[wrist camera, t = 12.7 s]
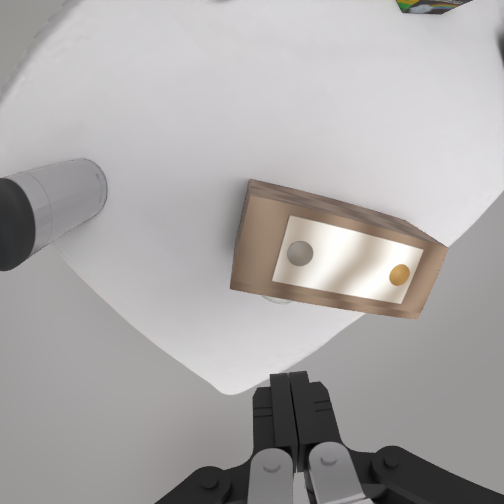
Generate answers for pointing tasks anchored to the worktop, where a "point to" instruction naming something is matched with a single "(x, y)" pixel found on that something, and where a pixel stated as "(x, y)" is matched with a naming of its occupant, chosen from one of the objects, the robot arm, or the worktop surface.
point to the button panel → (332, 253)
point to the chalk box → (429, 5)
